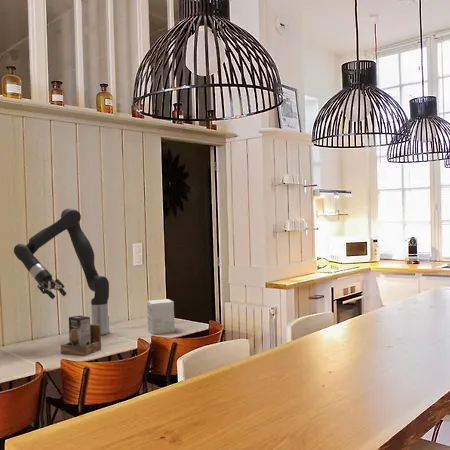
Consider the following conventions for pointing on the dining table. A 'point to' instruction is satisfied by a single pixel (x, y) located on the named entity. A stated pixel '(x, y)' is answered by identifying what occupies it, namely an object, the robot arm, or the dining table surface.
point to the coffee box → (79, 330)
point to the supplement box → (160, 316)
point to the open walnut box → (84, 350)
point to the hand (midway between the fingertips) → (59, 296)
